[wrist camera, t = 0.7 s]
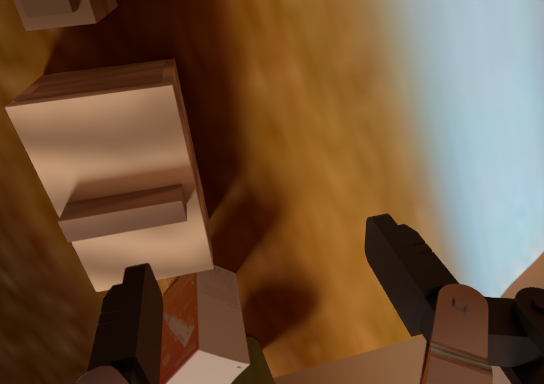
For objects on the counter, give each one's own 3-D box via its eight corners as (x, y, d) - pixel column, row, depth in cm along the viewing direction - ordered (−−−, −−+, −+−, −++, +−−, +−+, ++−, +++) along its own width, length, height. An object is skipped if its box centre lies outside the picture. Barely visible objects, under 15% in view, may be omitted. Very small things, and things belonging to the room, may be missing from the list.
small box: (195, 254, 45) (198, 349, 34) (237, 272, 48) (252, 364, 37) (160, 296, 47) (153, 396, 37) (202, 311, 50) (207, 407, 40)
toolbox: (43, 74, 31) (12, 101, 26) (174, 58, 33) (172, 79, 27) (110, 237, 41) (98, 281, 36) (208, 219, 42) (212, 259, 37)
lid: (10, 102, 25) (-12, 121, 22) (172, 81, 27) (171, 96, 24) (98, 284, 35) (90, 313, 32) (213, 261, 37) (215, 287, 34)
